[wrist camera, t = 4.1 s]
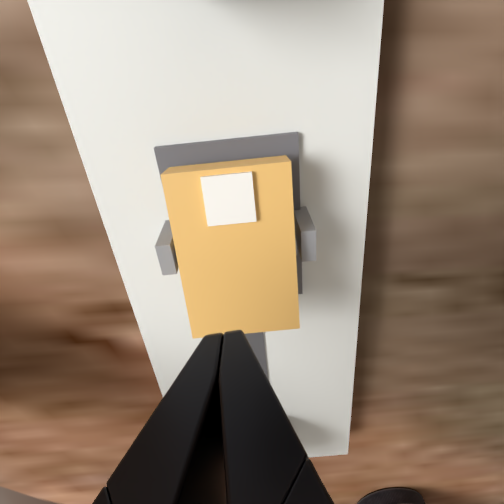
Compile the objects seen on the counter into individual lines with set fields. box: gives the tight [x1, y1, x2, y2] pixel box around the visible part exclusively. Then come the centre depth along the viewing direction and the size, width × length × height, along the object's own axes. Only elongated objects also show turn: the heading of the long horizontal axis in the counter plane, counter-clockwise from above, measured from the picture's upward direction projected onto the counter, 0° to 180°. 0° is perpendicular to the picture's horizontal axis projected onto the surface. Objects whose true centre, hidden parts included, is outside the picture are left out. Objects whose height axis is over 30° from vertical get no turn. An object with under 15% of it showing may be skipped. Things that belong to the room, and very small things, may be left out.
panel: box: [27, 0, 384, 458], centre depth 17 cm, size 12×35×4 cm, turn 5°
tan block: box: [161, 155, 300, 339], centre depth 14 cm, size 5×7×2 cm
